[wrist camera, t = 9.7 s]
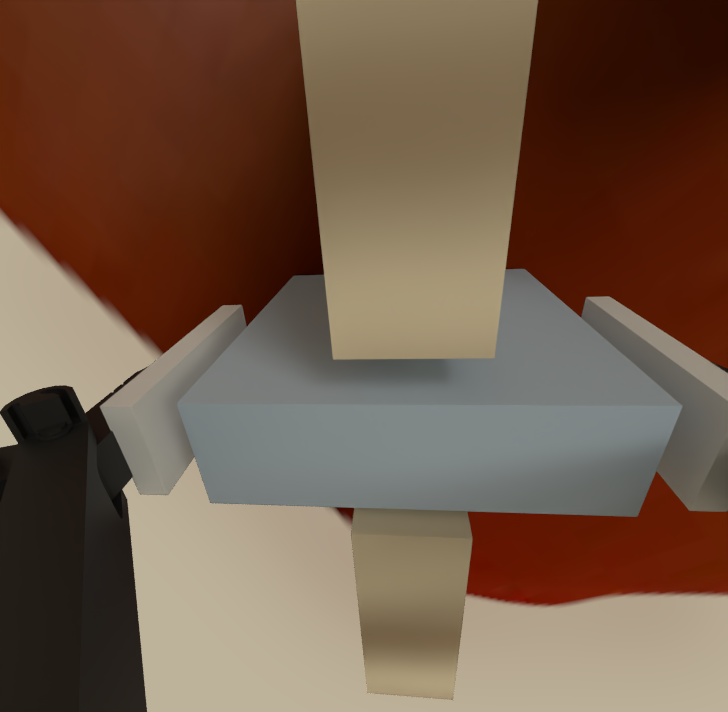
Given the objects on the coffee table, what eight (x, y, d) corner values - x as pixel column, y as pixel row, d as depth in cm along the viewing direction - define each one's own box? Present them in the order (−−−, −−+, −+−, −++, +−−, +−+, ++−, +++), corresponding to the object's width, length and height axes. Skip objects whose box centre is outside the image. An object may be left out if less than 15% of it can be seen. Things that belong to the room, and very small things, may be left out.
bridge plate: (293, 275, 17) (176, 403, 8) (524, 268, 16) (682, 406, 7) (302, 336, 18) (210, 503, 9) (514, 333, 17) (637, 516, 8)
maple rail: (357, -19, 12) (244, -506, 3) (451, -29, 12) (609, -593, 3) (380, 480, 22) (367, 692, 13) (431, 482, 22) (452, 699, 13)
